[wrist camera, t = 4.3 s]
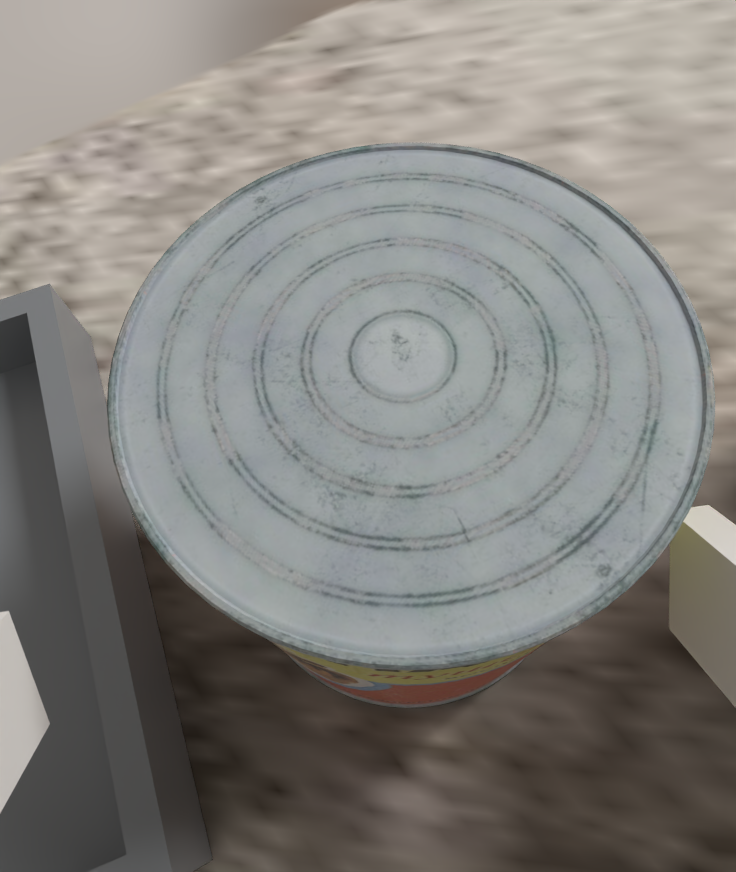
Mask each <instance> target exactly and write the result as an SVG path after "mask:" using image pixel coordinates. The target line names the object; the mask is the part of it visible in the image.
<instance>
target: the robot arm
mask: <svg viewBox="0 0 736 872" xmlns="http://www.w3.org/2000/svg"><path fill="white" fill-rule="evenodd" d="M669 629H670V630H671V632H672V633H673V634H674V635H675V636H676V638H677V639H678V640H679V641H680V642H681V643H682V645H683V646H684V647H685V648H686V649H687V651H688V652H689V653H690V654H691V655H692V657H693V658H694V659H695V660H696V661H697V663H698V664H699V665H700V666H701V667H702V668H703V670H704V671H705V672H706V673H707V674H708V676H709V677H710V678H711V679H712V680H713V682H714V683H715V684H716V685H717V686H718V688H719V689H720V690H721V691H722V692H723V693H724V695H725V696H726V697H727V698H728V699H729V701H730V702H731V703H732V704H733V705H734V707H735V708H736V525H735V524H734V523H732V522H731V521H730V520H728V519H727V518H726V517H724V516H723V515H722V514H720V513H719V512H718V511H716V510H715V509H713V508H712V507H711V506H709V505H704V506H697V507H691V508H690V511H689V512H688V514H687V516H686V518H685V519H684V521H683V523H682V524H681V526H680V528H679V529H678V531H677V533H676V535H675V536H674V538H673V539H672V540H671V542H670V583H669ZM49 725H50V722H49V720H48V717H47V714H46V711H45V709H44V706H43V703H42V700H41V698H40V695H39V692H38V689H37V687H36V684H35V681H34V679H33V676H32V673H31V670H30V668H29V665H28V662H27V659H26V657H25V654H24V651H23V648H22V646H21V643H20V640H19V638H18V635H17V632H16V629H15V627H14V624H13V621H12V618H11V616H10V613H9V611H5V612H0V813H1V811H2V809H3V808H4V806H5V804H6V802H7V800H8V799H9V797H10V795H11V793H12V791H13V790H14V788H15V786H16V784H17V782H18V781H19V779H20V777H21V775H22V773H23V772H24V770H25V768H26V766H27V764H28V763H29V761H30V759H31V757H32V755H33V754H34V752H35V750H36V748H37V746H38V745H39V743H40V741H41V739H42V737H43V736H44V734H45V732H46V730H47V728H48V726H49Z"/></svg>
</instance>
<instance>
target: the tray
mask: <svg viewBox="0 0 736 872" xmlns="http://www.w3.org/2000/svg"><path fill="white" fill-rule="evenodd" d="M5 611H9V613H10V616H11V618H12V621H13V624H14V627H15V629H16V632H17V635H18V638H19V640H20V643H21V646H22V648H23V651H24V654H25V657H26V659H27V662H28V665H29V668H30V670H31V673H32V676H33V679H34V681H35V684H36V687H37V689H38V692H39V695H40V698H41V700H42V703H43V706H44V709H45V711H46V714H47V717H48V720H49V722H50V725H49V726H48V728H47V730H46V732H45V734H44V736H43V737H42V739H41V741H40V743H39V745H38V746H37V748H36V750H35V752H34V754H33V755H32V757H31V759H30V761H29V763H28V764H27V766H26V768H25V770H24V772H23V773H22V775H21V777H20V779H19V781H18V782H17V784H16V786H15V788H14V790H13V791H12V793H11V795H10V797H9V799H8V800H7V802H6V804H5V806H4V808H3V809H2V811H1V813H0V872H193V871H195V870H196V869H198V868H200V867H201V866H203V865H205V864H206V863H208V862H210V861H211V860H213V859H212V854H211V850H210V846H209V842H208V837H207V833H206V829H205V824H204V820H203V816H202V812H201V807H200V803H199V799H198V794H197V790H196V786H195V782H194V777H193V773H192V769H191V764H190V760H189V756H188V752H187V747H186V743H185V739H184V735H183V730H182V726H181V722H180V717H179V713H178V709H177V705H176V700H175V696H174V692H173V687H172V683H171V679H170V675H169V670H168V666H167V662H166V657H165V653H164V649H163V645H162V640H161V636H160V632H159V627H158V623H157V619H156V615H155V610H154V606H153V602H152V597H151V593H150V589H149V585H148V580H147V576H146V572H145V567H144V563H143V559H142V555H141V550H140V546H139V542H138V537H137V533H136V529H135V525H134V520H133V516H132V512H131V508H130V506H129V504H128V502H127V499H126V497H125V495H124V492H123V490H122V488H121V485H120V481H119V478H118V475H117V472H116V468H115V465H114V462H113V456H112V451H111V445H110V440H109V432H108V417H107V405H106V400H105V396H104V392H103V388H102V383H101V379H100V375H99V370H98V366H97V362H96V358H95V353H94V349H93V345H92V340H91V336H90V335H89V334H88V333H87V331H86V330H85V329H84V327H83V326H82V325H81V324H80V322H79V321H78V320H77V319H76V317H75V316H74V315H73V313H72V312H71V311H70V310H69V308H68V307H67V306H66V304H65V303H64V302H63V301H62V299H61V298H60V297H59V295H58V294H57V293H56V292H55V290H54V289H53V288H52V286H51V285H50V284H48V285H44V286H41V287H38V288H35V289H32V290H29V291H26V292H23V293H20V294H17V295H14V296H11V297H8V298H5V299H1V300H0V612H5Z"/></svg>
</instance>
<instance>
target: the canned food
mask: <svg viewBox="0 0 736 872" xmlns="http://www.w3.org/2000/svg"><path fill="white" fill-rule="evenodd" d="M107 417H108V432H109V440H110V445H111V451H112V456H113V462H114V465H115V468H116V472H117V475H118V478H119V481H120V485H121V488H122V490H123V492H124V495H125V497H126V499H127V502H128V504H129V506H130V508H131V511H132V513H133V515H134V517H135V518H136V520H137V522H138V523H139V525H140V527H141V528H142V530H143V532H144V534H145V535H146V537H147V539H148V540H149V541H150V543H151V544H152V545H153V547H154V548H155V549H156V551H157V552H158V553H159V555H160V556H161V557H162V559H163V560H164V561H165V563H166V564H167V565H168V566H169V567H170V568H171V569H172V570H173V571H174V572H175V573H176V574H177V575H178V576H179V577H180V578H181V579H182V581H183V582H184V583H185V584H186V585H187V586H189V587H190V588H191V589H192V590H193V591H195V592H196V593H197V594H198V595H199V596H200V597H202V598H203V599H204V600H205V601H206V602H208V603H209V604H210V605H211V606H213V607H214V608H216V609H217V610H219V611H220V612H222V613H223V614H225V615H226V616H227V617H229V618H230V619H232V620H233V621H235V622H236V623H238V624H239V625H241V626H243V627H245V628H247V629H249V630H251V631H252V632H254V633H256V634H258V635H260V636H262V637H264V638H266V639H268V640H269V641H270V642H272V643H273V644H274V645H276V646H277V647H278V648H280V649H281V650H282V651H284V652H285V653H286V654H287V655H288V656H289V657H290V658H291V659H292V660H293V661H294V662H295V663H296V664H297V665H299V666H300V667H301V668H302V669H303V670H304V671H306V672H307V673H308V674H309V675H311V676H312V677H314V678H315V679H317V680H318V681H320V682H321V683H323V684H324V685H326V686H328V687H330V688H332V689H334V690H336V691H337V692H339V693H342V694H344V695H347V696H349V697H352V698H354V699H357V700H361V701H364V702H368V703H371V704H377V705H383V706H389V707H403V708H412V707H427V706H434V705H441V704H445V703H449V702H452V701H456V700H459V699H462V698H465V697H467V696H470V695H473V694H475V693H477V692H479V691H481V690H483V689H485V688H487V687H489V686H491V685H492V684H494V683H495V682H497V681H498V680H500V679H501V678H503V677H504V676H506V675H507V674H508V673H509V672H510V671H512V670H513V669H514V668H515V667H517V666H518V665H519V664H520V663H521V662H522V661H523V660H524V659H525V658H526V657H527V656H528V655H529V654H531V653H532V652H533V651H535V650H536V649H537V648H539V647H540V646H542V645H543V644H544V643H546V642H547V641H549V640H551V639H553V638H555V637H557V636H559V635H561V634H563V633H565V632H567V631H569V630H571V629H573V628H575V627H576V626H578V625H579V624H581V623H583V622H584V621H586V620H587V619H589V618H590V617H592V616H593V615H595V614H596V613H598V612H600V611H601V610H603V609H604V608H606V607H607V606H608V605H609V604H611V603H612V602H613V601H614V600H615V599H617V598H618V597H619V596H620V595H622V594H623V593H624V592H625V591H626V590H628V589H629V588H630V587H631V586H632V585H633V584H634V583H635V582H636V581H637V580H638V579H639V578H640V577H641V576H642V575H643V574H644V573H645V572H646V571H647V570H648V569H649V568H650V567H651V566H652V565H653V564H654V563H655V561H656V560H657V559H658V558H659V556H660V555H661V554H662V552H663V551H664V550H665V548H666V547H667V546H668V544H669V543H670V542H671V540H672V539H673V538H674V536H675V535H676V533H677V531H678V529H679V528H680V526H681V524H682V523H683V521H684V519H685V518H686V516H687V514H688V512H689V511H690V508H691V506H692V504H693V501H694V499H695V497H696V495H697V492H698V490H699V488H700V485H701V483H702V479H703V476H704V472H705V469H706V466H707V462H708V459H709V455H710V449H711V443H712V437H713V431H714V417H715V392H714V378H713V371H712V365H711V360H710V355H709V350H708V346H707V343H706V340H705V337H704V333H703V330H702V327H701V324H700V321H699V319H698V317H697V315H696V312H695V310H694V308H693V305H692V303H691V301H690V299H689V297H688V295H687V294H686V292H685V290H684V288H683V286H682V285H681V283H680V281H679V279H678V278H677V276H676V275H675V274H674V272H673V271H672V269H671V268H670V266H669V265H668V264H667V262H666V261H665V259H664V258H663V257H662V256H661V254H660V253H659V252H658V251H657V250H656V249H655V247H654V246H653V245H652V244H651V243H650V242H649V240H648V239H647V238H646V237H645V236H644V235H643V234H642V233H641V232H640V231H639V230H637V229H636V228H635V227H634V226H633V225H632V224H631V223H630V222H629V221H628V220H627V219H626V218H624V217H623V216H622V215H621V214H619V213H618V212H617V211H616V210H614V209H613V208H612V207H611V206H609V205H608V204H607V203H605V202H604V201H602V200H601V199H599V198H598V197H596V196H595V195H593V194H592V193H590V192H589V191H587V190H585V189H584V188H582V187H580V186H578V185H577V184H575V183H573V182H571V181H569V180H568V179H566V178H564V177H561V176H559V175H557V174H555V173H553V172H551V171H549V170H546V169H544V168H542V167H539V166H536V165H534V164H531V163H528V162H526V161H523V160H520V159H517V158H513V157H510V156H506V155H503V154H500V153H496V152H491V151H486V150H482V149H477V148H472V147H464V146H457V145H450V144H437V143H389V144H375V145H368V146H361V147H354V148H349V149H344V150H339V151H335V152H330V153H326V154H323V155H319V156H316V157H312V158H309V159H305V160H303V161H300V162H297V163H294V164H292V165H289V166H286V167H284V168H281V169H279V170H277V171H275V172H272V173H270V174H268V175H266V176H264V177H261V178H259V179H258V180H256V181H254V182H252V183H250V184H248V185H247V186H245V187H243V188H241V189H239V190H238V191H236V192H235V193H233V194H232V195H230V196H229V197H227V198H226V199H224V200H223V201H221V202H220V203H218V204H217V205H216V206H214V207H213V208H212V209H210V210H209V211H208V212H207V213H205V214H204V215H203V216H201V217H200V218H199V219H198V220H197V221H196V222H195V223H194V224H192V225H191V226H190V227H189V228H188V229H187V230H186V231H185V232H184V233H183V234H182V235H181V236H180V237H179V238H178V239H177V240H176V241H175V242H174V243H173V244H172V245H171V247H170V248H169V249H168V250H167V251H166V252H165V253H164V255H163V256H162V257H161V259H160V260H159V261H158V262H157V264H156V265H155V266H154V268H153V269H152V270H151V272H150V273H149V275H148V277H147V278H146V280H145V281H144V283H143V284H142V286H141V288H140V289H139V291H138V293H137V295H136V297H135V299H134V301H133V303H132V305H131V307H130V309H129V311H128V312H127V315H126V318H125V320H124V323H123V325H122V328H121V331H120V333H119V336H118V339H117V343H116V347H115V351H114V354H113V358H112V363H111V370H110V376H109V382H108V399H107Z"/></svg>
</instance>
